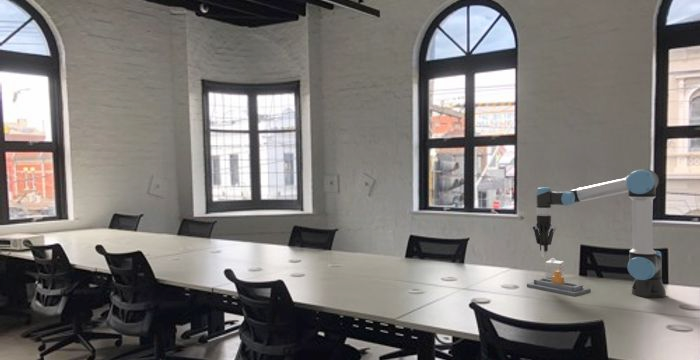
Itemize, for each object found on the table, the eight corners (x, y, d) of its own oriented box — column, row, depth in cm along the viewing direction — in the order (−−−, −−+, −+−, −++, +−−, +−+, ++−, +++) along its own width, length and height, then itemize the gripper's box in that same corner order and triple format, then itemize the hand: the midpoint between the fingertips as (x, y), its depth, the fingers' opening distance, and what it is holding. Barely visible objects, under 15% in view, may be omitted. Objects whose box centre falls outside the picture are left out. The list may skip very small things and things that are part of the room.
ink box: (560, 283, 282) (560, 260, 282) (545, 282, 287) (544, 259, 287) (564, 281, 289) (564, 258, 289) (549, 279, 294) (549, 256, 294)
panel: (590, 291, 264) (590, 284, 264) (574, 296, 254) (574, 289, 254) (543, 282, 286) (543, 276, 286) (526, 286, 277) (526, 280, 277)
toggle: (564, 285, 270) (564, 271, 269) (560, 287, 267) (559, 272, 267) (555, 284, 274) (555, 269, 273) (551, 285, 271) (551, 270, 271)
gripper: (558, 215, 273) (558, 257, 274) (537, 213, 284) (537, 254, 284) (550, 216, 269) (550, 259, 269) (529, 214, 279) (529, 256, 280)
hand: (543, 256), depth 277 cm, fingers closed
